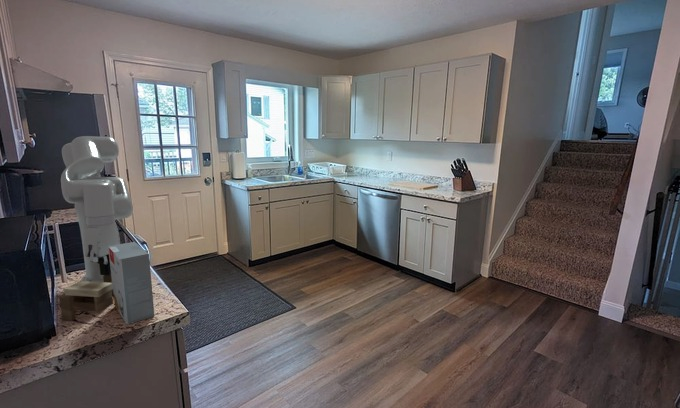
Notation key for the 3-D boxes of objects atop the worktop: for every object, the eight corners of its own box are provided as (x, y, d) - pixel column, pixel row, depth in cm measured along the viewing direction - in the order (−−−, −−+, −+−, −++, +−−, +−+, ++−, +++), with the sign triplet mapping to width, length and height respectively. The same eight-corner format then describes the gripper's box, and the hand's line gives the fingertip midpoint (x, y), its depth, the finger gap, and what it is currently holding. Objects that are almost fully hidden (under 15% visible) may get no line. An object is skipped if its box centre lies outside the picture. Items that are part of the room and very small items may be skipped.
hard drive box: (113, 306, 106) (107, 245, 102) (141, 298, 111) (135, 241, 107) (126, 325, 95) (119, 258, 91) (155, 316, 100) (150, 252, 96)
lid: (81, 286, 108) (80, 280, 107) (113, 288, 107) (112, 282, 106) (64, 295, 102) (63, 288, 101) (98, 297, 101) (97, 290, 100)
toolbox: (99, 293, 114) (96, 273, 113) (125, 295, 113) (123, 275, 112) (51, 319, 97) (48, 296, 96) (82, 321, 96) (79, 298, 95)
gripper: (107, 215, 115) (113, 265, 118) (69, 225, 101) (76, 282, 104) (128, 216, 115) (133, 266, 118) (92, 226, 100) (99, 284, 103)
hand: (106, 274), depth 111 cm, fingers closed
